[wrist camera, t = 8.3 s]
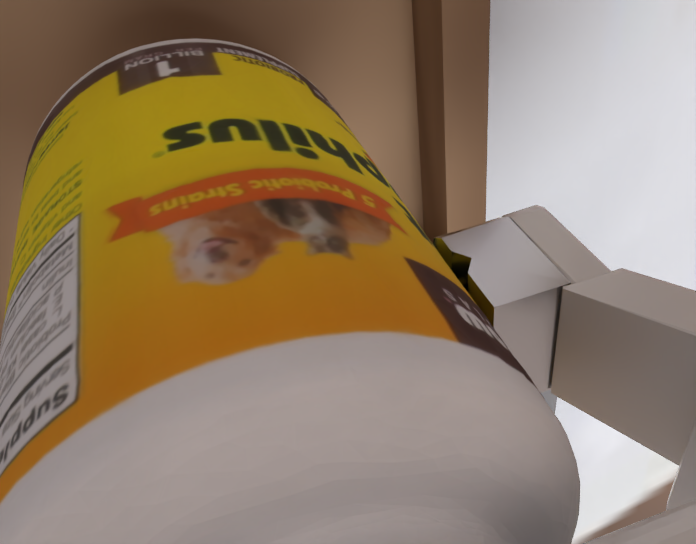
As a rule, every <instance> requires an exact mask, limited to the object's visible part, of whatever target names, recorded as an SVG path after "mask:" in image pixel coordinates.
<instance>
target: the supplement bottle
mask: <svg viewBox="0 0 696 544" xmlns="http://www.w3.org/2000/svg"><path fill="white" fill-rule="evenodd" d="M579 502H580V479H579V474H578V468H577V462H576V459H575V456H574V453H573V450H572V448H571V445H570V442H569V439H568V437H567V434H566V432H565V430H564V428H563V427H562V425H561V423H560V421H559V420H558V418H557V417H556V416H555V414H554V413H553V411H552V410H551V408H550V407H549V406H548V404H547V403H546V401H545V399H544V397H543V396H542V394H541V393H540V392H539V390H538V389H537V387H536V386H535V384H534V383H533V381H532V379H531V378H530V377H529V375H528V374H527V372H526V371H525V369H524V368H523V367H522V366H521V364H520V363H519V362H518V361H517V359H516V358H515V357H514V356H513V354H512V353H511V351H510V350H509V349H508V347H507V346H506V344H505V343H504V342H503V340H502V339H501V337H500V336H499V335H498V334H497V332H496V331H495V329H494V327H493V326H492V324H491V323H490V321H489V320H488V318H487V316H486V315H485V314H484V313H483V312H482V310H481V309H480V308H479V307H478V306H477V304H476V303H475V302H474V300H473V299H472V297H471V296H470V295H469V293H468V292H467V291H466V289H465V288H464V287H463V285H462V284H461V283H460V281H459V280H458V279H457V277H456V276H455V275H454V273H453V272H452V270H451V269H450V268H449V266H448V265H447V264H446V262H445V261H444V259H443V258H442V256H441V255H440V254H439V252H438V251H437V249H436V248H435V246H434V245H433V243H432V242H431V241H430V239H429V238H428V237H427V235H426V234H425V233H424V231H423V229H422V228H421V226H420V225H419V224H418V222H417V221H416V219H415V218H414V217H413V215H412V214H411V213H410V211H409V210H408V209H407V207H406V206H405V204H404V203H403V202H402V200H401V199H400V197H399V196H398V194H397V193H396V192H395V190H394V188H393V187H392V186H391V185H390V183H389V182H388V181H387V180H386V178H385V177H384V176H383V174H382V173H381V171H380V170H379V169H378V167H377V166H376V165H375V163H374V162H373V160H372V159H371V158H370V156H369V155H368V154H367V152H366V151H365V149H364V148H363V147H362V145H361V144H360V142H359V141H358V140H357V138H356V137H355V135H354V134H353V133H352V131H351V130H350V128H349V127H348V126H347V124H346V123H345V122H344V120H343V119H342V118H341V116H340V115H339V113H338V112H337V111H336V110H335V108H334V107H333V106H332V105H331V104H330V102H329V101H328V100H327V98H326V97H325V96H324V95H323V94H322V93H321V92H320V91H319V90H318V88H317V87H316V86H314V85H313V84H312V83H311V82H310V81H309V80H308V79H306V78H305V77H304V76H303V75H302V74H300V73H299V72H298V71H296V70H295V69H294V68H292V67H291V66H289V65H288V64H286V63H284V62H282V61H281V60H279V59H277V58H275V57H273V56H271V55H269V54H267V53H264V52H262V51H259V50H257V49H254V48H251V47H248V46H244V45H241V44H237V43H233V42H227V41H221V40H212V39H197V38H195V39H175V40H167V41H161V42H156V43H152V44H147V45H143V46H139V47H136V48H133V49H130V50H128V51H125V52H123V53H120V54H118V55H116V56H114V57H112V58H110V59H108V60H106V61H104V62H102V63H101V64H99V65H98V66H96V67H95V68H93V69H92V70H90V71H89V72H88V73H86V74H85V75H84V76H82V77H81V78H80V79H79V80H78V81H76V82H75V83H74V84H73V85H72V86H71V87H70V88H69V89H68V90H67V91H66V92H65V93H64V94H63V95H62V96H61V97H60V99H59V100H58V101H57V102H56V103H55V105H54V106H53V108H52V109H51V111H50V112H49V114H48V115H47V117H46V118H45V120H44V121H43V123H42V125H41V127H40V129H39V130H38V133H37V135H36V138H35V140H34V143H33V145H32V148H31V152H30V155H29V158H28V162H27V166H26V171H25V176H24V181H23V192H22V198H21V204H20V211H19V217H18V224H17V232H16V239H15V246H14V252H13V259H12V266H11V274H10V280H9V287H8V293H7V300H6V307H5V315H4V322H3V328H2V335H1V343H0V544H571V542H572V538H573V535H574V532H575V528H576V525H577V520H578V515H579Z"/></svg>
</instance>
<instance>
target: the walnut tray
mask: <svg viewBox="0 0 696 544" xmlns="http://www.w3.org/2000/svg"><path fill="white" fill-rule="evenodd" d="M489 29H490V0H0V343H1V335H2V328H3V322H4V315H5V307H6V300H7V293H8V287H9V280H10V274H11V266H12V259H13V252H14V246H15V239H16V232H17V224H18V217H19V211H20V204H21V198H22V192H23V181H24V176H25V171H26V166H27V162H28V158H29V155H30V152H31V148H32V145H33V143H34V140H35V138H36V135H37V133H38V130H39V129H40V127H41V125H42V123H43V121H44V120H45V118H46V117H47V115H48V114H49V112H50V111H51V109H52V108H53V106H54V105H55V103H56V102H57V101H58V100H59V99H60V97H61V96H62V95H63V94H64V93H65V92H66V91H67V90H68V89H69V88H70V87H71V86H72V85H73V84H74V83H75V82H76V81H78V80H79V79H80V78H81V77H82V76H84V75H85V74H86V73H88V72H89V71H90V70H92V69H93V68H95V67H96V66H98V65H99V64H101V63H102V62H104V61H106V60H108V59H110V58H112V57H114V56H116V55H118V54H120V53H123V52H125V51H128V50H130V49H133V48H136V47H139V46H143V45H147V44H152V43H156V42H161V41H167V40H175V39H195V38H197V39H212V40H221V41H227V42H233V43H237V44H241V45H244V46H248V47H251V48H254V49H257V50H259V51H262V52H264V53H267V54H269V55H271V56H273V57H275V58H277V59H279V60H281V61H282V62H284V63H286V64H288V65H289V66H291V67H292V68H294V69H295V70H296V71H298V72H299V73H300V74H302V75H303V76H304V77H305V78H306V79H308V80H309V81H310V82H311V83H312V84H313V85H314V86H316V87H317V88H318V90H319V91H320V92H321V93H322V94H323V95H324V96H325V97H326V98H327V100H328V101H329V102H330V104H331V105H332V106H333V107H334V108H335V110H336V111H337V112H338V113H339V115H340V116H341V118H342V119H343V120H344V122H345V123H346V124H347V126H348V127H349V128H350V130H351V131H352V133H353V134H354V135H355V137H356V138H357V140H358V141H359V142H360V144H361V145H362V147H363V148H364V149H365V151H366V152H367V154H368V155H369V156H370V158H371V159H372V160H373V162H374V163H375V165H376V166H377V167H378V169H379V170H380V171H381V173H382V174H383V176H384V177H385V178H386V180H387V181H388V182H389V183H390V185H391V186H392V187H393V188H394V190H395V192H396V193H397V194H398V196H399V197H400V199H401V200H402V202H403V203H404V204H405V206H406V207H407V209H408V210H409V211H410V213H411V214H412V215H413V217H414V218H415V219H416V221H417V222H418V224H419V225H420V226H421V228H422V229H423V231H424V233H425V234H426V235H427V237H428V238H429V239H430V241H431V242H432V243H433V240H434V237H438V236H441V235H444V234H448V233H451V232H454V231H457V230H461V229H464V228H467V227H471V226H474V225H477V224H480V223H484V222H485V220H486V172H487V124H488V77H489Z"/></svg>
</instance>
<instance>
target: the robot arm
mask: <svg viewBox="0 0 696 544" xmlns="http://www.w3.org/2000/svg"><path fill="white" fill-rule="evenodd" d="M433 245H434V246H435V248H436V249H437V251H438V252H439V254H440V255H441V256H442V258H443V259H444V261H445V262H446V264H447V265H448V266H449V268H450V269H451V270H452V272H453V273H454V275H455V276H456V277H457V279H458V280H459V281H460V283H461V284H462V285H463V287H464V288H465V289H466V291H467V292H468V293H469V295H470V296H471V297H472V299H473V300H474V302H475V303H476V304H477V306H478V307H479V308H480V309H481V310H482V312H483V313H484V314H485V315H486V316H487V318H488V320H489V321H490V323H491V324H492V326H493V327H494V329H495V331H496V332H497V334H498V335H499V336H500V337H501V339H502V340H503V342H504V343H505V344H506V346H507V347H508V349H509V350H510V351H511V353H512V354H513V356H514V357H515V358H516V359H517V361H518V362H519V363H520V364H521V366H522V367H523V368H524V369H525V371H526V372H527V374H528V375H529V377H530V378H531V379H532V381H533V383H534V384H535V386H536V387H537V389H538V390H539V392H540V393H542V392H545V391H548V390H551V393H552V394H554V395H555V396H557V397H559V398H561V399H562V400H564V401H566V402H568V403H569V404H571V405H573V406H575V407H576V408H578V409H580V410H582V411H584V412H585V413H587V414H589V415H591V416H592V417H594V418H596V419H598V420H599V421H601V422H603V423H605V424H606V425H608V426H610V427H612V428H613V429H615V430H617V431H619V432H621V433H622V434H624V435H626V436H628V437H629V438H631V439H633V440H635V441H636V442H638V443H640V444H642V445H643V446H645V447H647V448H649V449H651V450H652V451H654V452H656V453H658V454H659V455H661V456H663V457H665V458H666V459H668V460H670V461H672V462H673V463H675V464H677V465H679V468H678V471H677V474H676V477H675V480H674V483H673V486H672V490H671V492H670V495H669V499H668V503H667V507H666V509H667V511H665V512H662V513H660V514H657V515H655V516H652V517H649V518H647V519H644V520H642V521H639V522H637V523H634V524H632V525H629V526H627V527H624V528H622V529H619V530H616V531H614V532H611V533H609V534H606V535H604V536H601V537H599V538H596V539H593V540H591V541H588V542H586V543H583V544H696V291H694V290H691V289H688V288H684V287H681V286H678V285H675V284H671V283H668V282H665V281H662V280H658V279H655V278H652V277H649V276H645V275H642V274H639V273H636V272H632V271H629V270H626V269H623V268H621V269H618V270H615V271H611V270H610V269H608V268H607V267H606V266H605V265H604V264H603V263H602V262H601V261H600V260H599V259H598V258H597V257H596V256H595V255H594V254H593V253H592V252H591V251H590V250H588V249H587V248H586V247H585V246H584V245H583V244H582V243H581V242H580V241H579V240H578V239H577V238H576V237H575V236H574V235H573V234H572V233H571V232H570V231H568V230H567V229H566V228H565V227H564V226H563V225H562V224H561V223H560V222H559V221H558V220H557V219H556V218H555V217H554V216H553V215H552V214H551V213H550V212H548V211H547V210H546V209H545V208H544V207H541V206H538V205H534V206H531V207H528V208H525V209H522V210H519V211H516V212H513V213H510V214H506V215H503V216H502V217H501V218H497V219H494V220H490V221H487V222H484V223H480V224H477V225H474V226H471V227H467V228H464V229H461V230H457V231H454V232H451V233H448V234H444V235H441V236H438V237H434V240H433Z"/></svg>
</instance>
